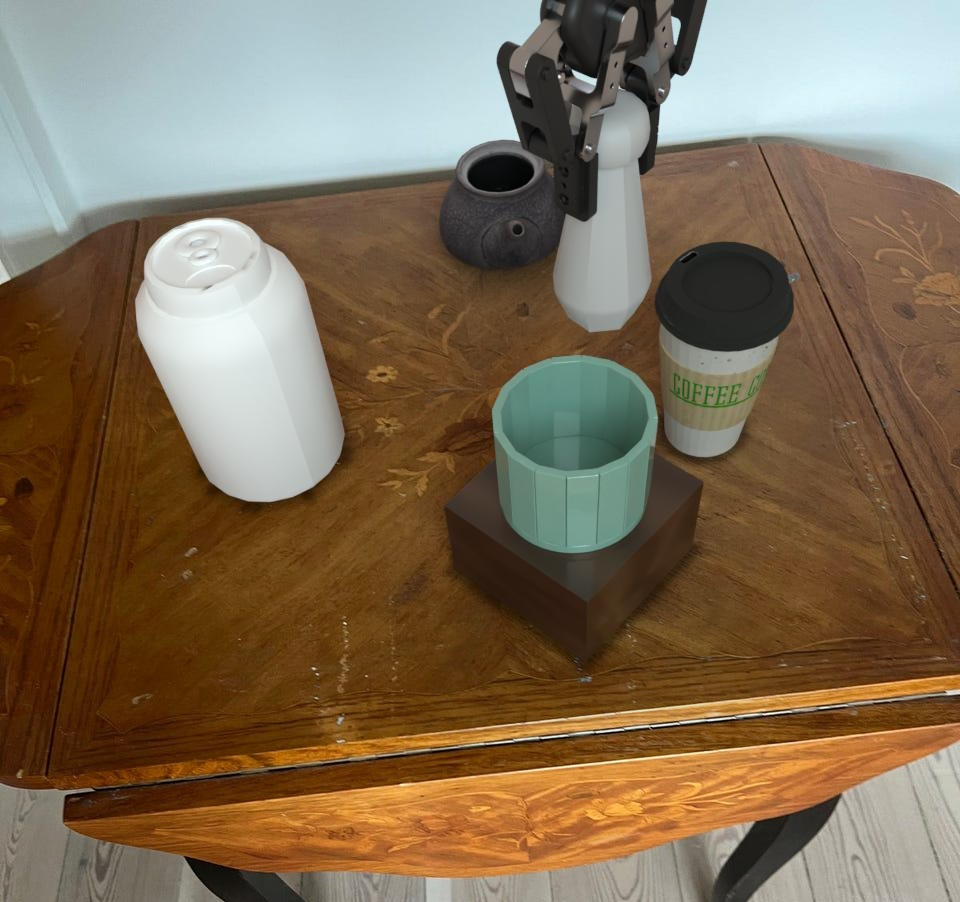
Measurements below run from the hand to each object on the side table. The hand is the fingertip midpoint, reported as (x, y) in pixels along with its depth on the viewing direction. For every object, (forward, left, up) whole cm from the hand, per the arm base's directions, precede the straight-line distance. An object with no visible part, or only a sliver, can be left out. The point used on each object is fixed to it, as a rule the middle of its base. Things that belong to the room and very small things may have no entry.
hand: (606, 188), depth 54 cm
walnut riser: (+4, +1, -29) cm, 29 cm away
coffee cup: (-13, +1, -29) cm, 32 cm away
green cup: (+4, +1, -21) cm, 22 cm away
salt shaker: (0, 0, -8) cm, 8 cm away
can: (+11, -26, -29) cm, 41 cm away
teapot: (-23, -25, -29) cm, 45 cm away
